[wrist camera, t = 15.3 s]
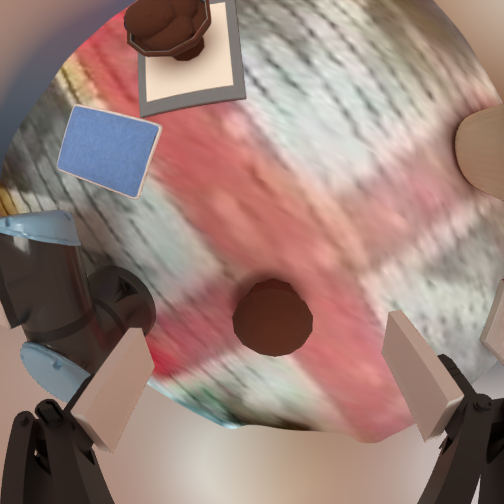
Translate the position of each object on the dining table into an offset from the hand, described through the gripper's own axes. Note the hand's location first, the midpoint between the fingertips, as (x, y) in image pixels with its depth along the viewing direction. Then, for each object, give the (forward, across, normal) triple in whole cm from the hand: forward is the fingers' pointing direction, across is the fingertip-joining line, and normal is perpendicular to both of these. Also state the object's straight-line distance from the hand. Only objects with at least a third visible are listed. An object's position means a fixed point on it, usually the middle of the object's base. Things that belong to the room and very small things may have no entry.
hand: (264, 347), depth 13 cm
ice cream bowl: (+27, -9, +29) cm, 41 cm away
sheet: (+28, -9, +29) cm, 41 cm away
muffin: (+29, 0, -13) cm, 32 cm away
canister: (+29, +40, +12) cm, 50 cm away
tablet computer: (+29, -25, +16) cm, 42 cm away
